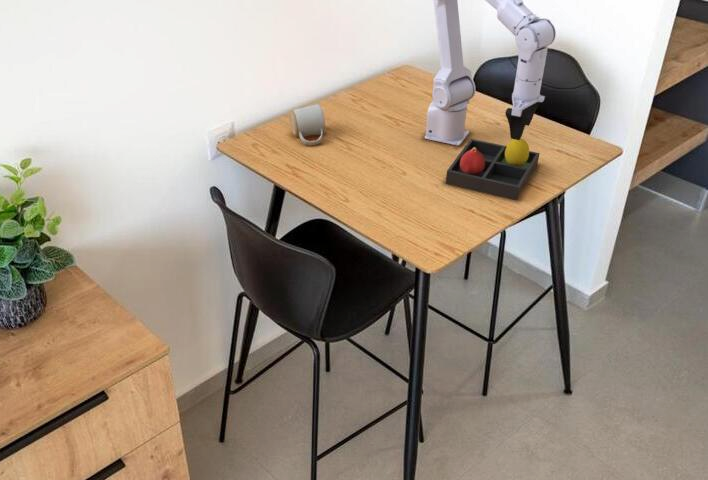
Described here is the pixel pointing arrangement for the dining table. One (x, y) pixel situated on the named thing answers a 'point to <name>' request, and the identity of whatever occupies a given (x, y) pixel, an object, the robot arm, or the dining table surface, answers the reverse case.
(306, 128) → the ceramic mug
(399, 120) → the dining table surface
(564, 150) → the dining table surface
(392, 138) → the dining table surface
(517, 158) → the lemon
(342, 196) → the dining table surface
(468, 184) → the divided tray
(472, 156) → the onion
